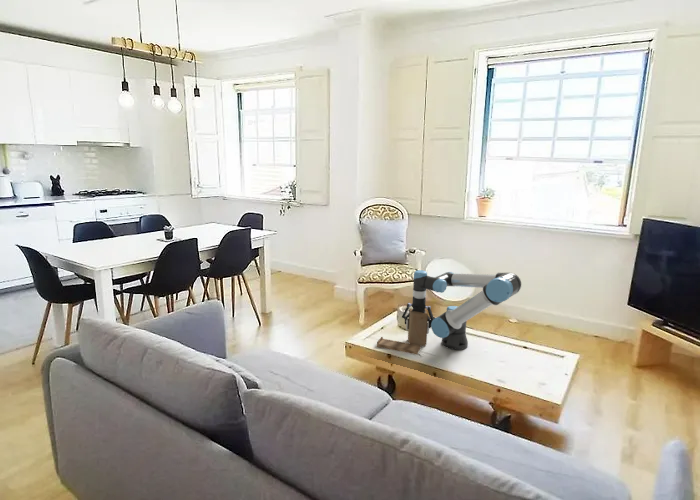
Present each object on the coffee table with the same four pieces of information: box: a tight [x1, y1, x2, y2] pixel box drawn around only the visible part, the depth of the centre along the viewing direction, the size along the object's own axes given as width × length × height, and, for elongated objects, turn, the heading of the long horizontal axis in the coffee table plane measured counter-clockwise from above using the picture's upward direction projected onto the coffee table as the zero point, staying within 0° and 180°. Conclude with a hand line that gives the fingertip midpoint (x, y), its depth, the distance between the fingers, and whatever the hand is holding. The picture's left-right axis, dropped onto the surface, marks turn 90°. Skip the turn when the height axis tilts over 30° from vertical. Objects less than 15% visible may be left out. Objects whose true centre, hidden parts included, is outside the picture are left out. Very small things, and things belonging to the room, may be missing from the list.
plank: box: [376, 336, 422, 355], centre depth 257 cm, size 24×8×3 cm, turn 67°
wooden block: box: [407, 308, 429, 347], centre depth 262 cm, size 10×10×20 cm
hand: (417, 331), depth 262 cm, fingers closed on wooden block, 12 cm apart
